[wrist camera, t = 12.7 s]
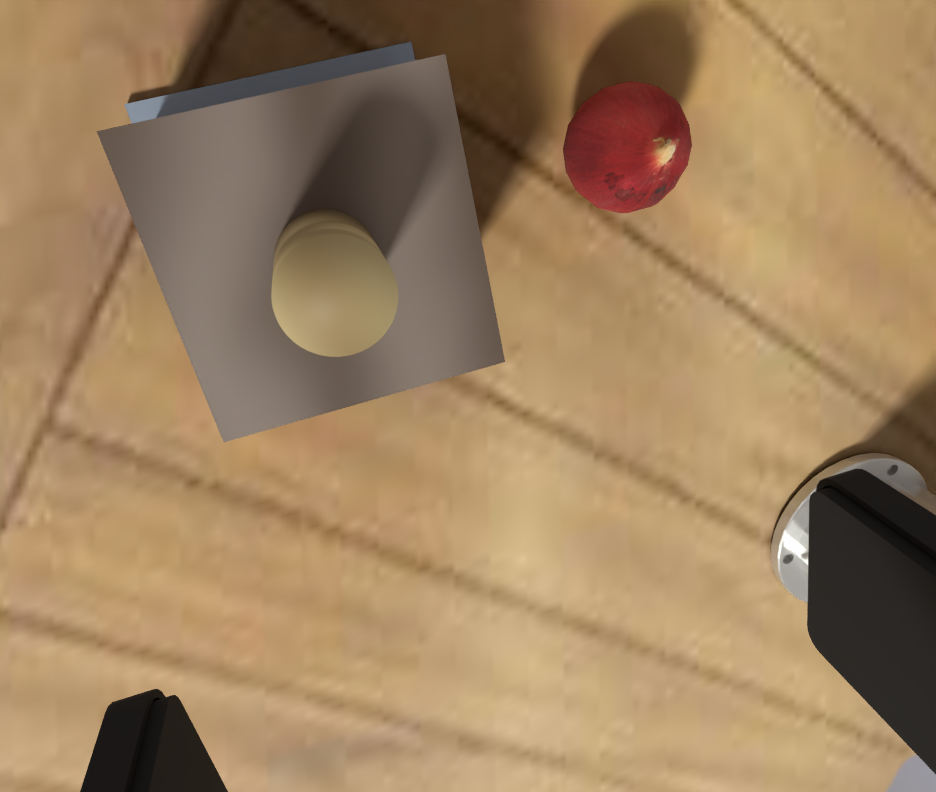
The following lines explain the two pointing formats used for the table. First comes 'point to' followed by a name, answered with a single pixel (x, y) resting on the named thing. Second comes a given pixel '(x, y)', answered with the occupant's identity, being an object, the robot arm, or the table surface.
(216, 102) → the mat
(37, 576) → the table surface
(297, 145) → the cover
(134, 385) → the table surface
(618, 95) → the onion
